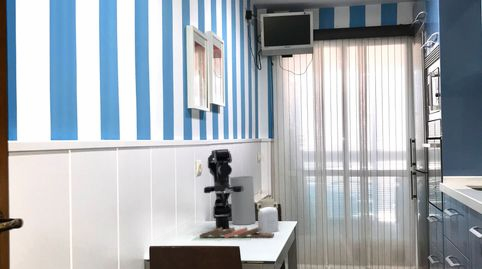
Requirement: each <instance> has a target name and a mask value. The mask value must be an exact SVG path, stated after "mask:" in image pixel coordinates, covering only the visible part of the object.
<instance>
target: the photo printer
mask: <svg viewBox="0 0 482 269" xmlns="http://www.w3.org/2000/svg"><path fill="white" fill-rule="evenodd" d="M274 207H275V206H274ZM274 207H265V208H262V209H260V210H258V211H257V225H258V227H260V228H261V230H260V231H259V232H258V233H275V232H279V214H278V212H279V211H278V208H277V209H276V208H274Z"/></svg>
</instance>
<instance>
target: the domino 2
mask: <svg viewBox="0 0 482 269" xmlns="http://www.w3.org/2000/svg"><path fill="white" fill-rule="evenodd" d="M235 230H236V229H235V227H233V226H232V227H229V229H226V230H223V231H221V232H220V233H217V234H213V235H211V236H212V238H216V237H219V236H222V235H225V234H229V233H232V232H233V231H235Z"/></svg>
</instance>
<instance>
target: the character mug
mask: <svg viewBox="0 0 482 269" xmlns="http://www.w3.org/2000/svg"><path fill="white" fill-rule="evenodd" d="M265 207H274V208H276V209H277V210H278V208H279V205H278V202H275V200H274V199H273V198H264V199H260V203H257V204H256V209H257V210H258V211H259V210H260V209H262V208H265Z"/></svg>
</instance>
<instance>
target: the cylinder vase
mask: <svg viewBox="0 0 482 269" xmlns="http://www.w3.org/2000/svg"><path fill="white" fill-rule="evenodd" d="M229 185H230V187H233V186H235V185H242V186H243V188H244V191H242V192H234V191H232V193H231V194H230V200H231V201H230V202H231V204H230V207H231V222H232V224H233V225H236V226H246V225H252V224H255V223H256V212H255V211H256V208H255V206H256V204H255V188H254V187H255V186H254V176H252V175H246V176H244V175H243V176H241V175H240V176H232V177H229Z"/></svg>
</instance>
